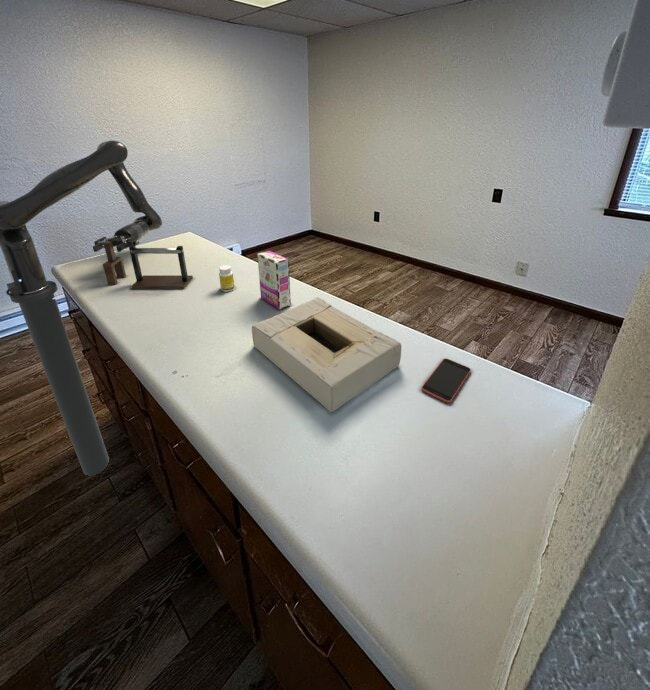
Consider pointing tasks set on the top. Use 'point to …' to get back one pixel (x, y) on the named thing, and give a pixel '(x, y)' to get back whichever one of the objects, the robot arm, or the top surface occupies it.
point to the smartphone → (446, 380)
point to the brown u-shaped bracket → (112, 262)
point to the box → (326, 351)
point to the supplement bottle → (226, 278)
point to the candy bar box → (274, 279)
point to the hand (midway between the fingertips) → (106, 249)
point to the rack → (159, 280)
